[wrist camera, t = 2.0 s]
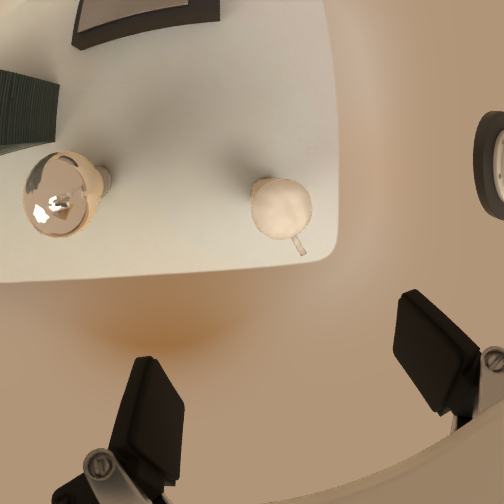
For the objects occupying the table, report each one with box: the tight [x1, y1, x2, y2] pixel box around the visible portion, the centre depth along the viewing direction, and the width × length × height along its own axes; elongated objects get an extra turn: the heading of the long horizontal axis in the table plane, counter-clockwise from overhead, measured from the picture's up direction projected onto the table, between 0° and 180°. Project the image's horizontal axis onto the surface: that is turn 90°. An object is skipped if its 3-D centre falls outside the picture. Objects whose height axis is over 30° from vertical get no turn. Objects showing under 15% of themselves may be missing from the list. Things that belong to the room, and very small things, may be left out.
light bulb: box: [23, 151, 111, 238], centre depth 19 cm, size 7×7×12 cm
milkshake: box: [251, 178, 312, 256], centre depth 23 cm, size 5×5×10 cm
